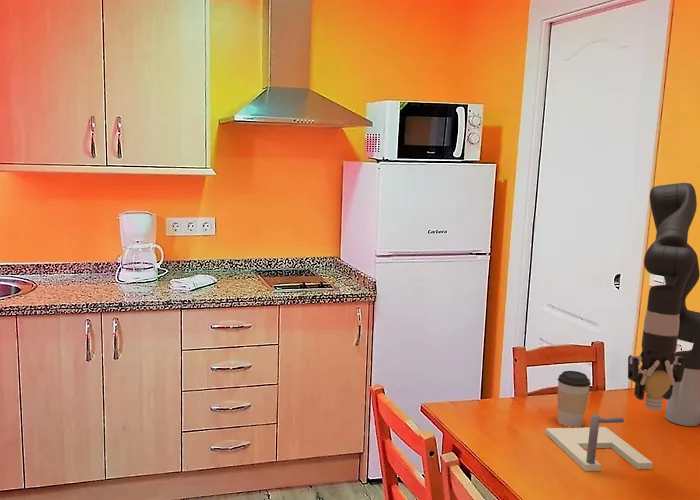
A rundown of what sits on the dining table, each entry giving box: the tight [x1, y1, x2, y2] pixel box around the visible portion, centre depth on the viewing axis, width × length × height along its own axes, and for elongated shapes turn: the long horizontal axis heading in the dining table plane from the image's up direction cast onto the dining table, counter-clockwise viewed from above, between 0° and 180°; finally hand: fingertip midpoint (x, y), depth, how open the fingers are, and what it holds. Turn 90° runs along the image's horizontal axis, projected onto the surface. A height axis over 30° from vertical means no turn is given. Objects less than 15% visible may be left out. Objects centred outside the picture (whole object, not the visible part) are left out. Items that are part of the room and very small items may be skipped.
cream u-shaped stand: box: [544, 413, 654, 472], centre depth 178 cm, size 18×22×14 cm
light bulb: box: [644, 369, 671, 412], centre depth 161 cm, size 6×6×10 cm
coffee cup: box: [557, 370, 592, 428], centre depth 195 cm, size 9×9×15 cm
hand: (652, 398), depth 162 cm, fingers closed on light bulb, 6 cm apart
